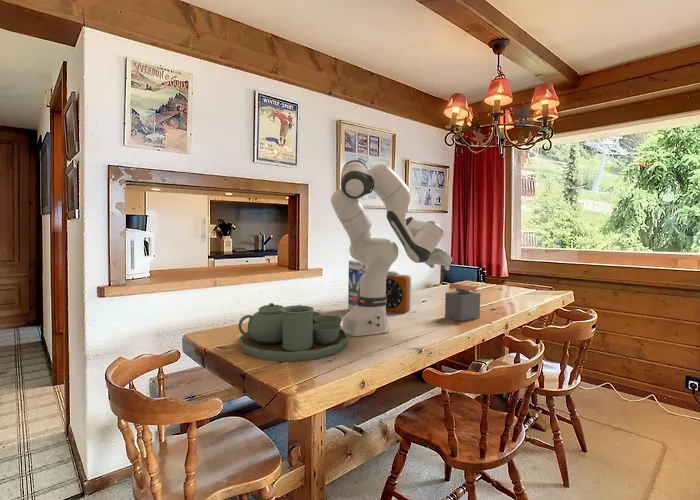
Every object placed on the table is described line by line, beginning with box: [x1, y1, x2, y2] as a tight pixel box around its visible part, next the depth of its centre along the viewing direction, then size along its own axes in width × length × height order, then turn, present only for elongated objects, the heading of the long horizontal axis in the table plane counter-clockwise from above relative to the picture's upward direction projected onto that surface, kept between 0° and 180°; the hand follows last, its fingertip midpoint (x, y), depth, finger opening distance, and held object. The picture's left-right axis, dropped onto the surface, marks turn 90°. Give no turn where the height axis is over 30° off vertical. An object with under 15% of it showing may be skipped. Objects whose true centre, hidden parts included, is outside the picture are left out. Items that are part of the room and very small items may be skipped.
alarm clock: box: [386, 270, 412, 314], centre depth 212 cm, size 18×9×21 cm, turn 62°
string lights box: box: [347, 259, 368, 311], centre depth 210 cm, size 13×8×26 cm, turn 42°
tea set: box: [238, 302, 349, 362], centre depth 153 cm, size 40×40×16 cm
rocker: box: [449, 282, 477, 293], centre depth 196 cm, size 11×7×4 cm, turn 124°
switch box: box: [444, 290, 481, 322], centre depth 197 cm, size 13×10×12 cm
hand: (440, 268), depth 187 cm, fingers open, 8 cm apart
